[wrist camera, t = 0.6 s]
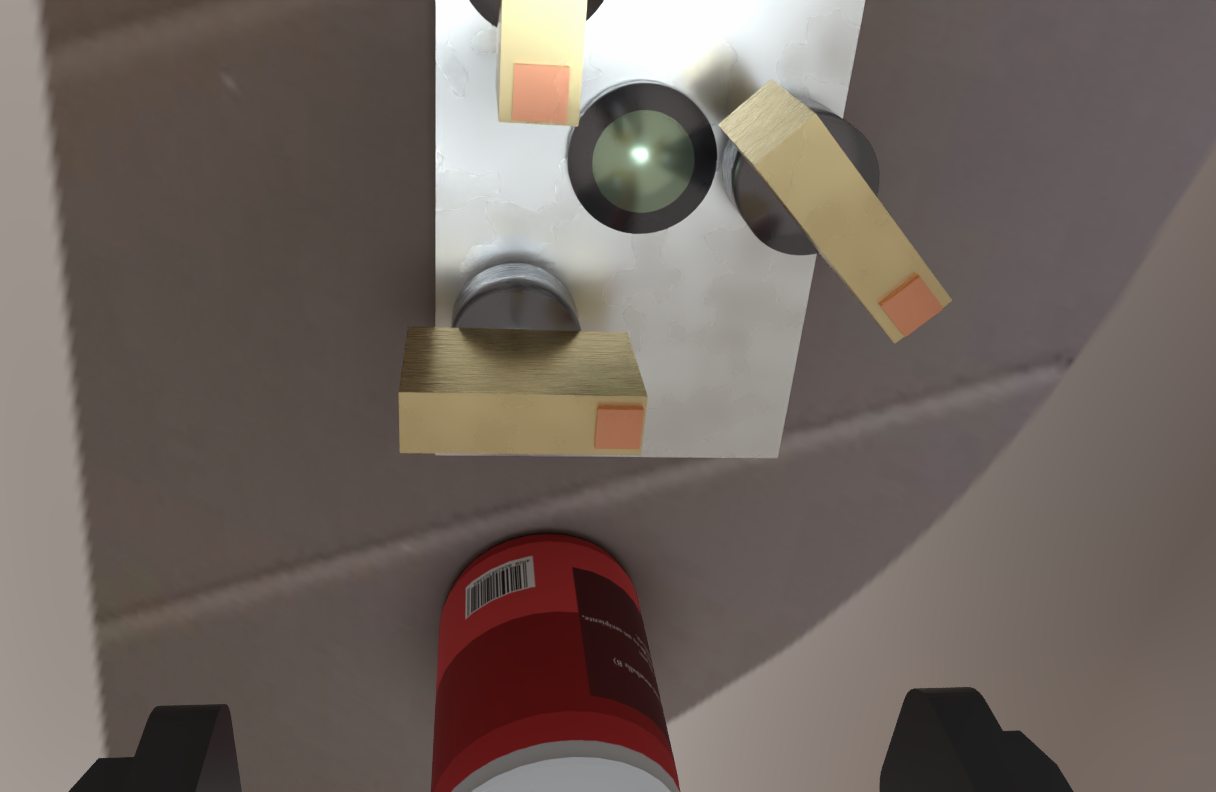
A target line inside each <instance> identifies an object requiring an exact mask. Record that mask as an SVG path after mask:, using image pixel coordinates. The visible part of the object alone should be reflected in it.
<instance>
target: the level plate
mask: <svg viewBox="0 0 1216 792" xmlns="http://www.w3.org/2000/svg"><path fill="white" fill-rule="evenodd" d="M864 4H865V0H604V1H603V3H602V4H601V6H600V7H599V8H598V10H597V11H596V12H595V13H594V14H593V15H592V16H591V17H590V19H588V20H587V21H586V26H585V41H584V56H583V70H582V85H581V99H580V114H579V127H577V126H559V125H541V124H523V123H505V122H499V121H498V110H497V98H496V87H495V80H496V45H497V27H495V26H493V25H492V24H491V23H489V22H488V21H487V20H486V19H484V18H483V17H482V16H481V15H480V14H479V13H478V12H477V10H476V9H475V8H474V7H473V5H472V4H471V3H470V1H469V0H436V314H435V327H448V328H451V322H452V312H453V307H454V304H455V301H456V299H457V297H458V295H459V293H460V291H461V290H462V289H463V288H464V286H465V285H466V284H467V283H468V282H469V281H470V280H471V279H472V278H473V277H475V276H476V275H477V274H479V273H481V272H482V271H484V270H486V269H489V268H491V267H494V266H498V265H501V264H508V263H521V264H528V265H533V266H536V267H539V268H542V269H544V270H546V271H548V272H550V273H551V274H553V275H554V276H555V277H557V278H558V279H559V280H560V281H561V282H562V283H563V284H564V285H565V286H566V288H567V289H568V290H569V292H570V294H571V295H572V298H573V300H574V302H575V305H576V309H577V313H578V318H579V322H580V327H581V331H599V332H627V333H628V336H629V339H630V342H631V345H632V348H633V351H634V355H635V358H636V361H637V364H638V367H639V370H640V373H641V377H642V380H643V383H644V386H645V389H646V392H647V395H648V399H647V408H646V417H645V425H644V434H643V443H642V451H641V455H580V454H467V453H435V455H466V456H583V457H700V458H778V454H779V449H780V443H781V438H782V433H783V428H784V422H785V417H786V412H787V407H788V402H789V396H790V391H791V386H792V381H793V375H794V370H795V365H796V360H797V355H798V349H799V344H800V339H801V334H802V328H803V323H804V318H805V313H806V307H807V302H808V297H809V292H810V287H811V281H812V276H813V271H814V266H815V260H816V255H817V254H812V255H789V254H785V253H781V252H779V251H776V250H774V249H772V248H770V247H768V246H767V245H765V244H764V243H763V242H761V241H760V240H759V239H758V238H757V237H756V236H755V235H754V233H753V232H752V231H751V229H750V228H749V227H748V225H747V224H746V222H745V221H744V220H743V218H742V217H741V216H740V214H739V213H738V211H737V210H736V209H735V207H734V206H733V205H732V203H731V202H730V200H729V198H728V196H727V194H726V192H725V189H724V186H723V181H722V170H721V169H722V159H723V154H724V150H725V147H726V144H727V142H728V140H729V138H728V137H727V135H726V134H725V133H724V132H723V130H722V129H721V128H720V127H719V125H718V124H719V123H720V122H722V121H723V120H724V119H725V118H726V117H727V116H729V115H730V114H731V113H732V112H733V111H734V110H736V109H737V108H738V107H739V106H740V105H741V104H743V103H744V102H745V101H746V100H747V99H748V98H750V97H751V96H752V95H753V94H754V93H755V92H757V91H758V90H759V89H760V88H761V87H762V86H764V85H765V84H766V83H767V82H768V81H769V80H773V81H774V82H775V83H777V84H778V85H779V86H781V87H782V88H783V89H784V90H786V91H787V92H788V93H790V94H791V95H792V96H794V97H801V98H807V99H811V100H814V101H816V102H819V103H821V104H823V105H824V106H826V107H827V108H829V109H830V110H831V111H833V112H834V113H836V114H837V115H838V116H840V117H841V118H842V119H843V114H844V109H845V104H846V98H847V93H848V88H849V83H850V78H851V72H852V67H853V62H854V57H855V51H856V46H857V41H858V36H859V30H860V25H861V20H862V15H863V10H864Z"/></svg>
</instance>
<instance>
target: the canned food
mask: <svg viewBox="0 0 1216 792" xmlns="http://www.w3.org/2000/svg"><path fill="white" fill-rule="evenodd" d="M431 792H680V788H679V781H678V776H677V771H676V767H675V762H674V757H673V753H672V748H671V744H670V740H669V735H668V731H667V726H666V722H665V717H664V713H663V709H662V704H661V700H660V695H659V691H658V686H657V682H656V677H655V673H654V669H653V664H652V660H651V655H650V651H649V646H648V642H647V638H646V633H645V629H644V624H643V620H642V615H641V611H640V607H639V602H638V598H637V593H636V590H635V588H634V586H633V584H632V582H631V580H630V578H629V577H628V575H627V574H626V573H625V571H624V570H623V569H622V568H621V566H620V565H619V564H618V563H617V562H616V561H615V559H614V558H613V557H612V556H611V555H610V554H608V553H607V552H606V551H604V550H603V549H602V548H600V547H599V546H597V545H595V544H592V543H590V542H588V541H586V540H584V539H580V538H576V537H572V536H568V535H560V534H538V535H528V536H524V537H520V538H516V539H512V540H509V541H507V542H504V543H502V544H500V545H497V546H495V547H493V548H491V549H490V550H488V551H487V552H485V553H484V554H482V555H480V556H479V557H477V558H476V559H475V560H474V561H473V562H472V563H471V564H470V565H469V566H468V567H467V568H466V569H465V570H464V571H463V572H462V574H461V575H460V577H459V578H458V579H457V581H456V582H455V584H454V586H453V588H452V590H451V592H450V594H449V596H448V598H447V600H446V603H445V605H444V607H443V610H442V614H441V620H440V627H439V646H438V665H437V685H436V704H435V723H434V743H433V762H432V781H431Z"/></svg>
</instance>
